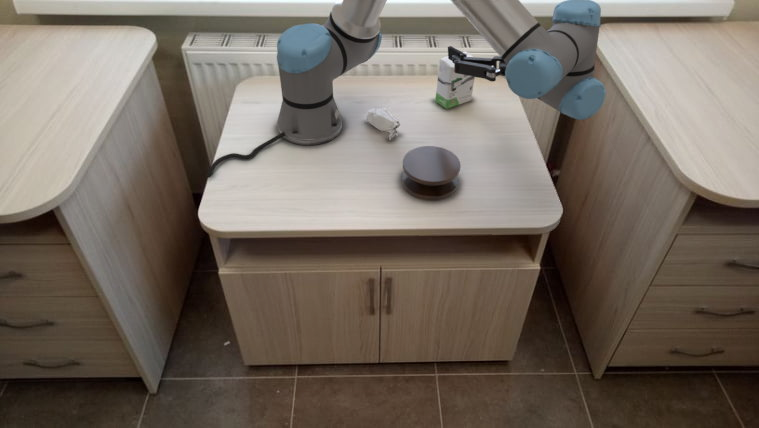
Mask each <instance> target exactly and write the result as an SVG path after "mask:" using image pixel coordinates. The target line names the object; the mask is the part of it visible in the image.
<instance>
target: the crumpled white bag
mask: <svg viewBox="0 0 759 428" xmlns="http://www.w3.org/2000/svg"><path fill="white" fill-rule="evenodd" d="M364 122H366V123H368V124H369V125H372V126H373V127H374V128H376V129H377V130H379V131H381V132H384V131H385V132H389V135H388V140H389V141H391V140H392V139H394V137H395V136H397V137H398V136H399V131H398V128H399V127H400V126H401V123H400V120H399V119H397V118H395V117H394V116H393V115H392V113H391V111H390V110H389V109H388V108H386V107H382V108H369V109H368V111H367V114H366V119H365V121H364Z"/></svg>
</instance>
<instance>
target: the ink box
mask: <svg viewBox="0 0 759 428" xmlns="http://www.w3.org/2000/svg"><path fill="white" fill-rule="evenodd" d="M462 52H463V53H465V54H466V55H467V57H474V56H473V55H472V54H470V53H469V52H468V51H462ZM475 79H476V77H473V76H468V75H463V74H457V73H455V66H454V63H453V62H452V61H451V60H450V59H448V55H447V56H443V57H441V58H440V59H439V65H438V73H437V82H436V89H435V98H434V100H435V102H436V104H439V105H440V106H441V107H443V108H444V109H446V110H448V109H451V108H453V107H456V106H459V105H463V104H465V103H468V102H471V101H472V96H473V91H474V83H475Z"/></svg>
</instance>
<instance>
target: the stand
mask: <svg viewBox="0 0 759 428" xmlns="http://www.w3.org/2000/svg"><path fill="white" fill-rule="evenodd" d="M460 161H461V160H460V159H459V158H458V157H457V155H456V154H454V153H453V152H452V151H451V150H448V149H446V148H444V147H440V146H435V145H423V146H418V147H415V148H413V149H410V150H409V151H408V152H407V153H406V154H405V155H404V157H403V159H402V171H403V172H402V173H401V185H402V187H403V189H404V191H405V192H406V193H407V194H409V195H410V196H412V197H413V198H415V199H419V200H422V201H426V202H427V201H428V202H435V201H436V202H437V201H441V200H445V199H448V198H449V197H451V196H452V195H454V194H455V192H456V191H457V190H458V186H459V185H458V184H459V175H460V172H461V162H460Z"/></svg>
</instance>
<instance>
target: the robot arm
mask: <svg viewBox="0 0 759 428" xmlns="http://www.w3.org/2000/svg"><path fill="white" fill-rule="evenodd" d="M387 1H388V0H337V1H336V2H335V3H334V4H333V5H332V8H331V10H330V12H329V15H328V18H327V20H326V21H325V23H323V24H322V25H321V24H318V23H312V22H311V23H308V22H307V23H304V24H295V25H294V26H291V27H290V28H287V29H286V30H284V31H283V32H282V33H281V34H280V36H279V37H278V39H277V42H276V62H277V66H278V73H279V81H280V90H281V97H282V100H281V101H282V102H281V105H280V108H279V114H278V117H277V129H278V133H279V134H277V135H275V136H273V137H272V138H270V139H268V140H266V141H265V142H263V143H261V144H260V145H258V146H257V147H255V148H254V149H253V150H252V151H251V152H250V153H249V154H241V153H234V152H233V153H229V154H225V155H223V156H220V157H218V158H217V159H216V160H214V162H213V163H212V164H211V165H210V167H209V169H208V170H207V172H206V174H205V179H208V178H209V179H210V178H211V176H212V174H213V173H214V171H215V169H216V168H217V167H218V166H219V165H220V164H221V163H222V162H224V161H226V160H229V159H234V158H236V159H240V160H250V159H252V158H254V157H255V156H256V154H257V153H258V152H260V151H261V150H263V149H264V148H266V147H268V146H270V145H272V144H273V143H275V142H277V141H279V140H281V139H282V138H283V139H284V140H286V141H288V142H290V143H292V144H296V145H300V146H315V145H321V144H325V143H327V142H330V141H333V140H334V139H335V138H336V137H338V135H339V134H340V133H341V131H342V129H343V117H342V114H341V111H340V109H339V106H338V105H337V102H336V100H335V98H334V85H333V82H334V80H335V79H337V78H339V77H340V76H342V75H344V74H346V73H347V72H349V71H351V70H352V69H354V68H356V67H357V66H359V65H361V64H364V63H366V62H368V61H369V60H370V59H371V58H372V57H374V56H375V55H376V53H377V52H378V50H379V49H380V47H381V44H382V38H383V37H382V33H381V31H382V25H381V20H380V18H379V17H380V16H381V13H382V11H383V9H384V7H385V6H386V3H387ZM450 2H451V3H452V4H453V5H454V6H455V7H456V8H457V10H458V11H459V13H460V12H461V15H463V16H464V18H466V20H468V22H469V23H470V24H471V25H472V27H473V28H474V29H475V30H476V31H477V32H478V33H479V34H480V36H482V38H483V39H484V40H485V41H486V42H487V43H488V45H489V46H490V47H491V48H492V50H494V51H495V53H496V54H497V55H495V56H493V57H492V58H491V57H475V56H473V57H467V55H466V54H465V53H463V52H464V51H461V50H459V49H457V48H455V47H454V46H451V45H449V46H447V56H448V59H450V60H451V61H452V62H453V63H454V66H455V73H457V74H463V75H468V76H473V77H475V78H479V79H484V80H487V81H488V82H496V80H497V77H498V76H502V77H505V80H506V82H507V86H508V88H509V89H510V91H511V92H512V93H513V94H515V95H516V96H518V97H520V98H523V99H526V100H534V99H538V100H539V101H541V102H543V103H544V104H546V105H548V106H549V107H551V108H553V109H554V110H556V111H557V112H560V114H561V115H564V116H565V115H566V116H567V117H569V118H572V119H575V120H579V121H583V120H587V119H589V118H591V117H593V116H594V115H596V114H597V113H598V111H599V110H600V109H601V108H602V106H603V105H604V103H605V99H606V94H607V90H606V88H605V85H604V83H603V82H602V81H600V80H599V79H598V78H596V77H595V76H594V75H595V67H596V66H595V65H596V56H597V49H598V42H599V36H600V35H599V34H600V28H601V27H602V24H601V16H602V15H601V13H602V8H601V5H600V4H599V3H598V2H596V1H593V0H563V1H561V2H559V3H557V4H556V5H555V6H554V9H553V15H552V18H551V25H552V26H551V27H550V28H549V29H547V30H546V29H545V28H544V27H543V25H541V24H540V23H539V22H538V20H537V19H536V18H535V17H534V16H533V15H532V14H531V12H530V11H529V10H528V9H527V7H526V6H525V5H524V4H523V3H522V2H521V1H520V0H450Z"/></svg>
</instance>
